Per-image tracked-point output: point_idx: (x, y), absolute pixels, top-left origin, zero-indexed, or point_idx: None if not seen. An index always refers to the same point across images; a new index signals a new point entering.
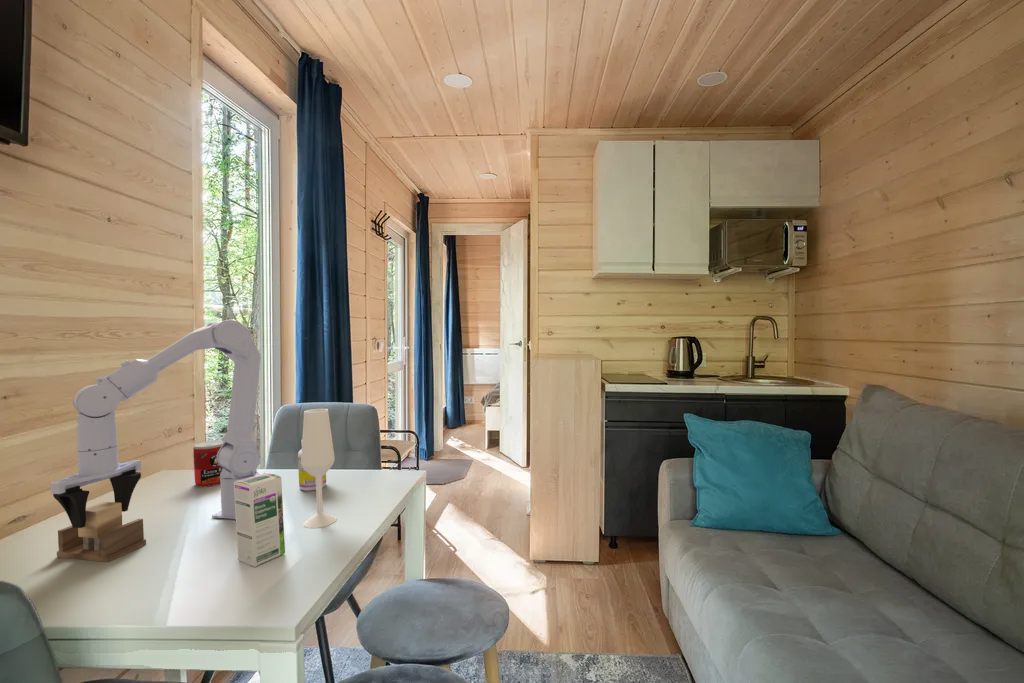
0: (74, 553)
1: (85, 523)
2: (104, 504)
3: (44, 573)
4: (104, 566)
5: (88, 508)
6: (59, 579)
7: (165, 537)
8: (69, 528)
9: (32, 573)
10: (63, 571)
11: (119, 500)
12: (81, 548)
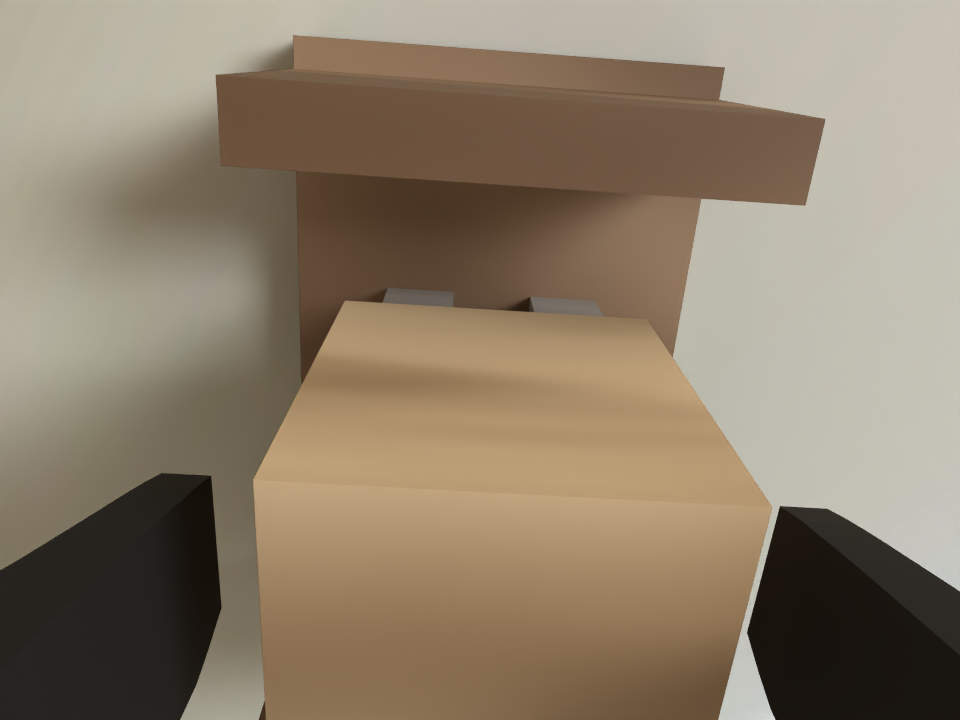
0: (300, 288)
1: (208, 646)
2: (598, 682)
3: (50, 290)
4: (258, 627)
5: (379, 595)
6: (31, 509)
7: (741, 643)
8: (328, 169)
9: (13, 175)
10: (122, 413)
11: (855, 688)
12: (398, 248)
